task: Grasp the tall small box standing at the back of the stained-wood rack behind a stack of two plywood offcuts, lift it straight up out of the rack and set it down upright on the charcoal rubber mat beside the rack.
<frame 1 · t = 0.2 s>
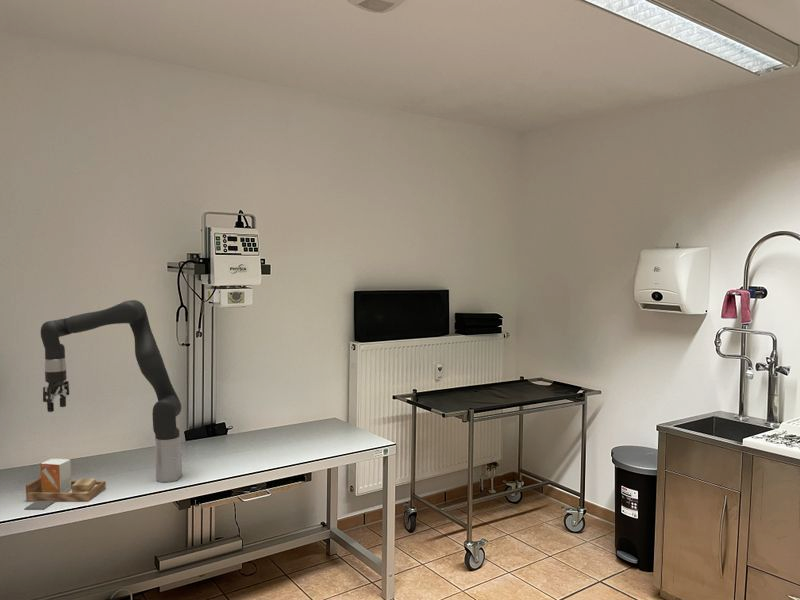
hand: (57, 409, 245), 29 cm above the table, fingers open, 8 cm apart
rack: (67, 494, 229), on the table
offcut bottom: (84, 496, 229), on the table
small box: (56, 495, 229), on the table
offcut top: (84, 488, 229), point 2 cm above the table
mat: (40, 505, 218), on the table
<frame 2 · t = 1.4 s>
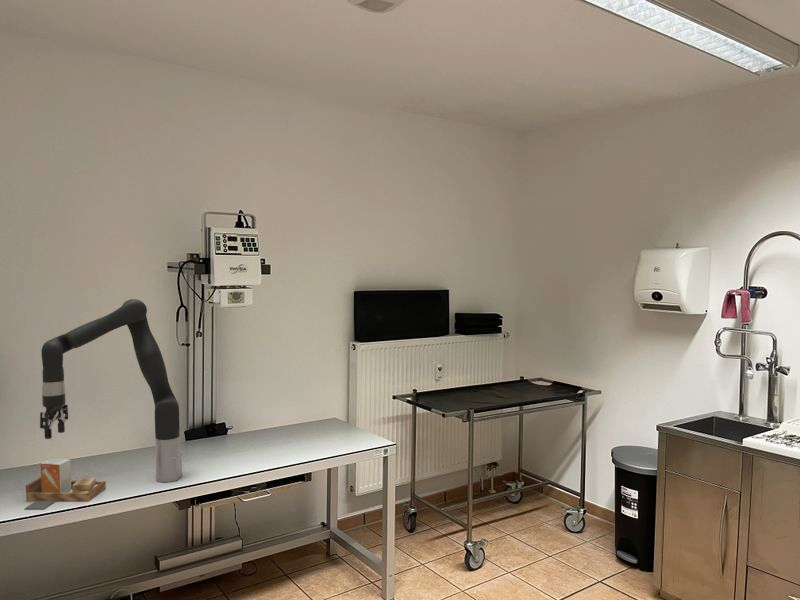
hand: (54, 435, 228), 23 cm above the table, fingers open, 8 cm apart
offcut bottom: (84, 496, 229), on the table, touching offcut top
offcut top: (84, 488, 229), point 3 cm above the table, touching offcut bottom
everything else where it was.
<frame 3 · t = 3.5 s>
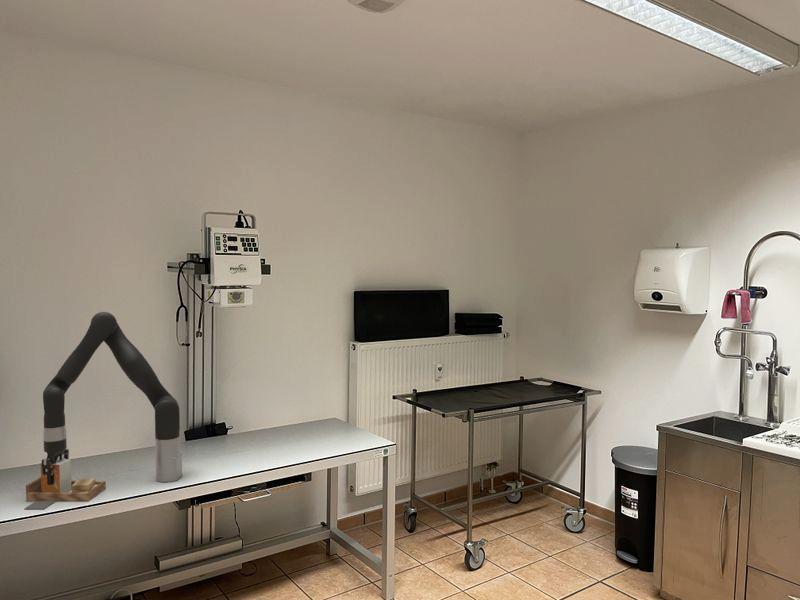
hand: (56, 481, 229), 5 cm above the table, fingers closed on small box, 6 cm apart
small box: (56, 495, 229), on the table, touching gripper
everything else where it was.
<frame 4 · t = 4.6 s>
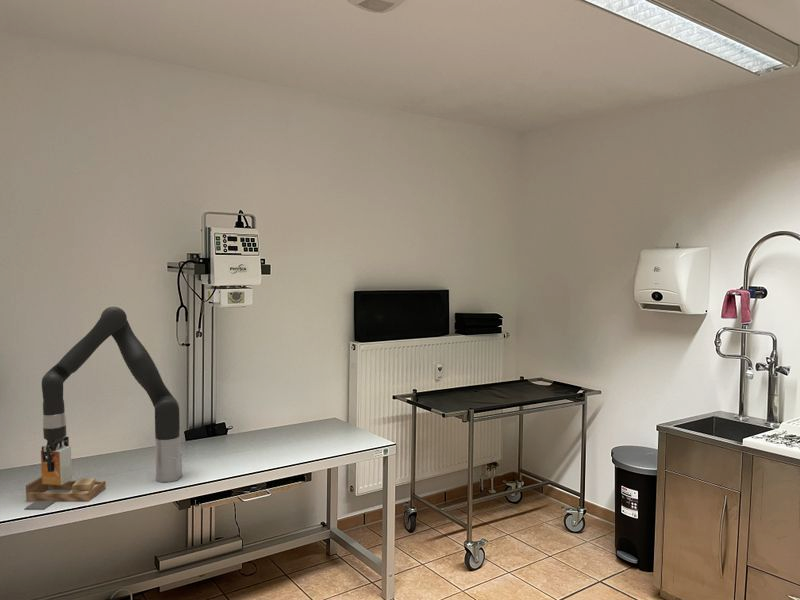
hand: (56, 468, 228), 10 cm above the table, fingers closed on small box, 6 cm apart
small box: (57, 482, 229), point 5 cm above the table, touching gripper
everything else where it was.
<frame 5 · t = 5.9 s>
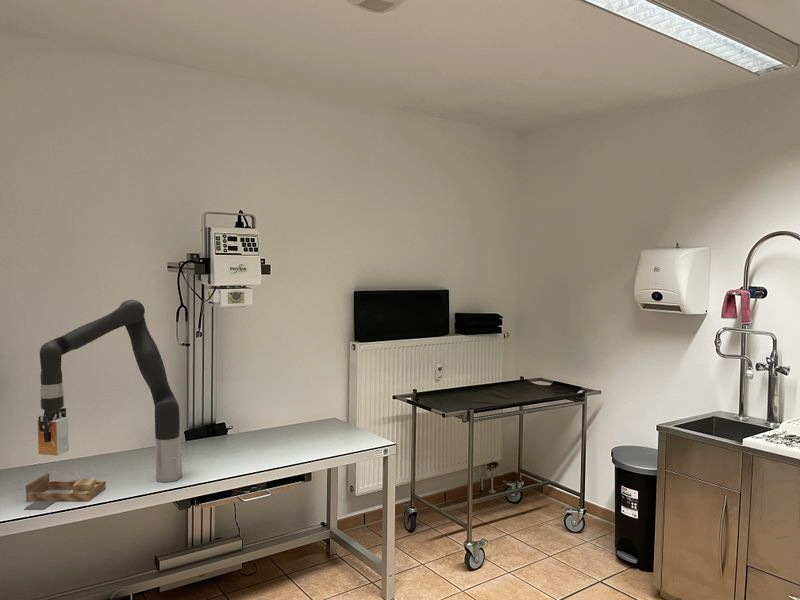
hand: (53, 438, 227), 22 cm above the table, fingers closed on small box, 6 cm apart
small box: (53, 453, 227), point 16 cm above the table, touching gripper
everything else where it was.
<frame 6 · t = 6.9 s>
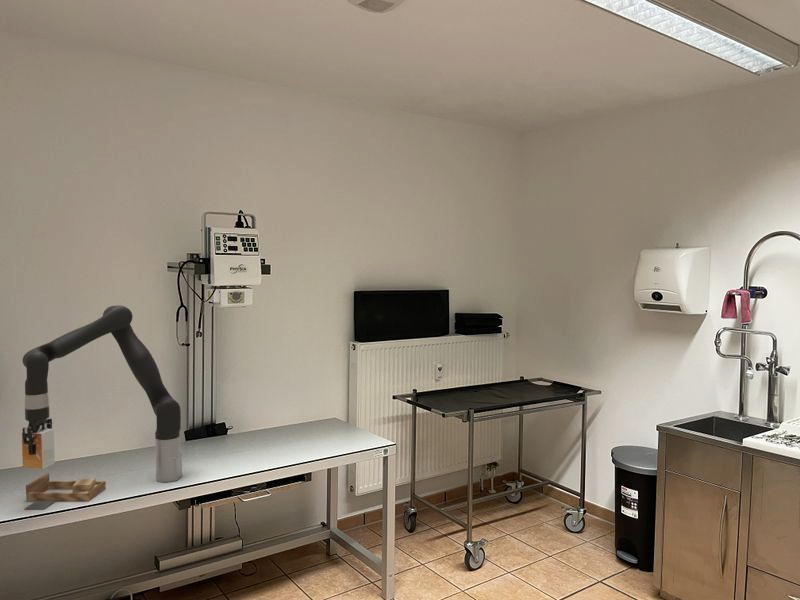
hand: (38, 451, 218), 20 cm above the table, fingers closed on small box, 6 cm apart
small box: (39, 466, 218), point 14 cm above the table, touching gripper
everything else where it was.
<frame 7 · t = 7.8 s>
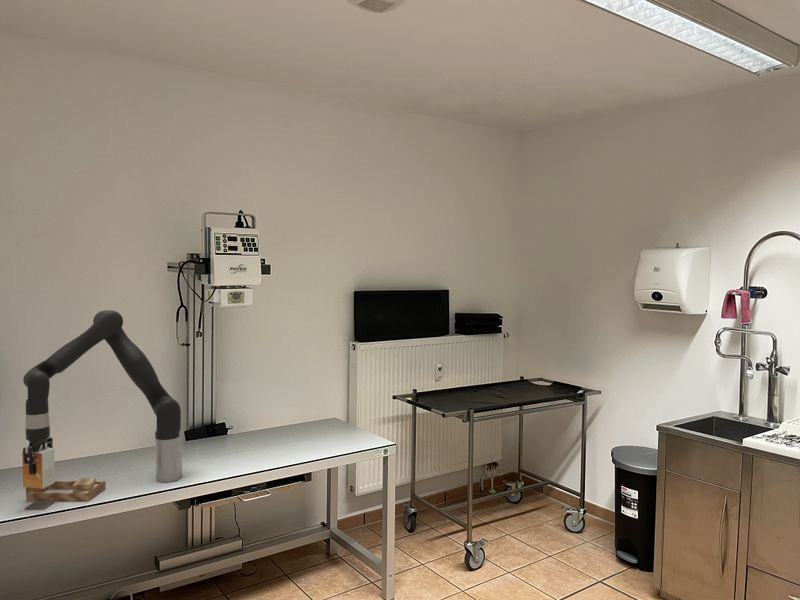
hand: (39, 470, 218), 13 cm above the table, fingers closed on small box, 6 cm apart
small box: (39, 485, 218), point 7 cm above the table, touching gripper
everything else where it was.
when the fingers open (6 cm above the table, at t = 9.4 s): small box stays where it is, resting on mat.
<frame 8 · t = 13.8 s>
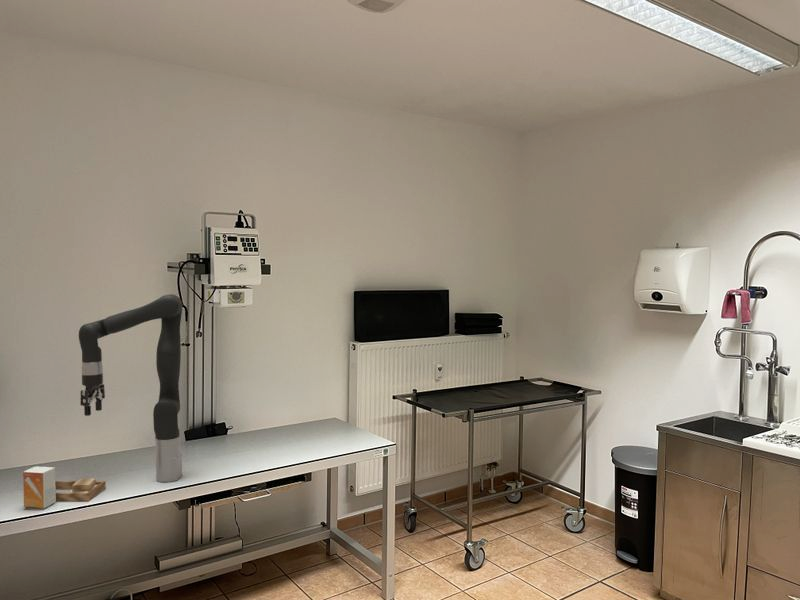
hand: (93, 412, 241), 28 cm above the table, fingers open, 8 cm apart
small box: (40, 505, 218), resting on mat
everything else where it was.
at the end: small box inside the target area on the mat (0.1 cm from its centre), point 0.2 cm above the mat's base; small box tilted 0°; the gripper is holding nothing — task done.
